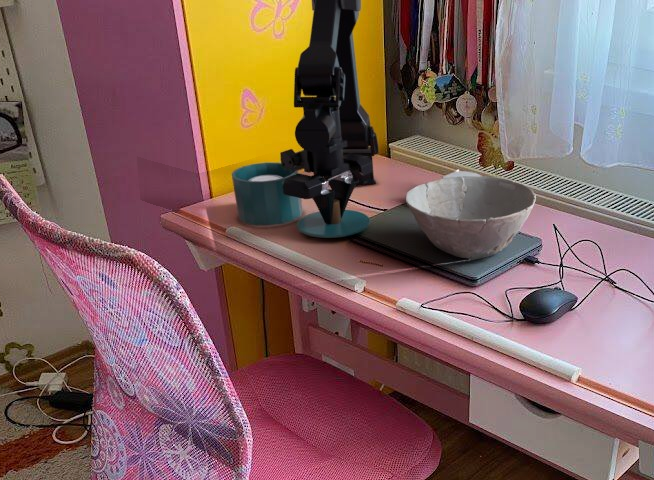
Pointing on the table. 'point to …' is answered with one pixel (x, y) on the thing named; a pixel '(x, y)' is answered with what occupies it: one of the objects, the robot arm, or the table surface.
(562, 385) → the table surface
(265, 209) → the canister
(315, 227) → the lid
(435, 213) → the ceramic bowl
